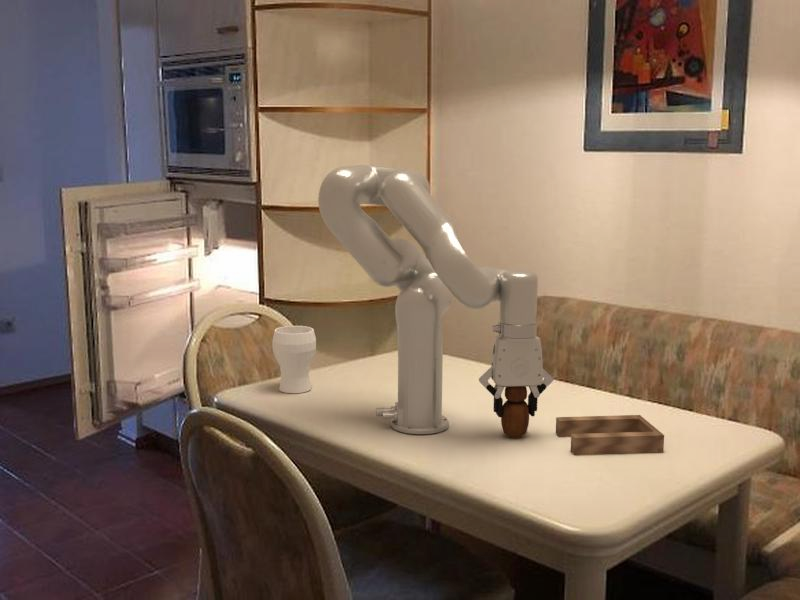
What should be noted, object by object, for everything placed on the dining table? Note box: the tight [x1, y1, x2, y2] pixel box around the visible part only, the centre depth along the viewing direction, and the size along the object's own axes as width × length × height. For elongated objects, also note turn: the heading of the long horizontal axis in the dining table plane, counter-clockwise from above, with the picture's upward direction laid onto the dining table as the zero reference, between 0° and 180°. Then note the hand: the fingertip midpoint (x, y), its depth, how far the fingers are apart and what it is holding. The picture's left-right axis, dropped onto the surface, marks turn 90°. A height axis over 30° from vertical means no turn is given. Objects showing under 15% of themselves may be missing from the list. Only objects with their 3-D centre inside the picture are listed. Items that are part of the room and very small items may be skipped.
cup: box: [272, 325, 317, 394], centre depth 221 cm, size 11×11×15 cm
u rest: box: [555, 414, 665, 456], centre depth 185 cm, size 18×13×4 cm
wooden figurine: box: [500, 387, 530, 439], centre depth 188 cm, size 7×6×15 cm
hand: (515, 414), depth 188 cm, fingers closed on wooden figurine, 6 cm apart
